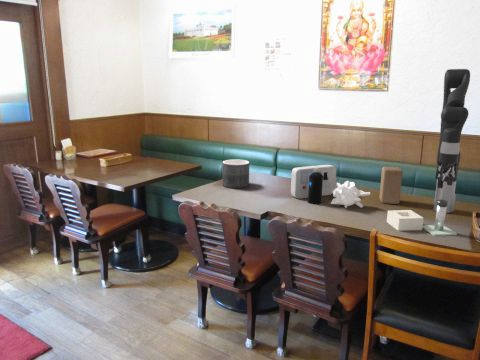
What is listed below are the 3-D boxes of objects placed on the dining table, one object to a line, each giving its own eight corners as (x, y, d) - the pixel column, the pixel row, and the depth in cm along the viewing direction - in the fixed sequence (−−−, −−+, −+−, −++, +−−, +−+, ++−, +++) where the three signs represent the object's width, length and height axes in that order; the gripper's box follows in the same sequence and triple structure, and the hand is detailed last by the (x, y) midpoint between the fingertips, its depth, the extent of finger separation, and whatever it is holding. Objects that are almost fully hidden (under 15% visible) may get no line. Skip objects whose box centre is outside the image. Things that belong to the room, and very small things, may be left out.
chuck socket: (409, 221, 203) (410, 209, 202) (422, 229, 192) (423, 218, 190) (386, 221, 202) (387, 210, 200) (398, 230, 190) (399, 218, 189)
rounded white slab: (296, 200, 237) (298, 170, 233) (290, 196, 244) (291, 167, 239) (337, 195, 248) (339, 166, 243) (329, 192, 255) (331, 164, 250)
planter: (249, 188, 261) (249, 165, 257) (221, 188, 261) (221, 164, 257) (249, 181, 278) (249, 159, 274) (223, 181, 278) (223, 159, 274)
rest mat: (442, 226, 196) (442, 225, 196) (456, 235, 186) (456, 233, 185) (421, 227, 195) (421, 225, 195) (434, 235, 184) (434, 234, 184)
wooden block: (399, 204, 230) (403, 170, 225) (381, 203, 232) (384, 169, 227) (396, 199, 239) (400, 166, 234) (378, 198, 241) (382, 166, 236)
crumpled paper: (340, 190, 212) (339, 168, 221) (326, 207, 225) (326, 187, 234) (375, 199, 214) (372, 177, 224) (359, 216, 228) (357, 195, 237)
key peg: (445, 229, 190) (449, 201, 186) (440, 231, 187) (444, 203, 184) (436, 227, 193) (440, 199, 190) (431, 229, 191) (435, 200, 187)
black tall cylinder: (323, 201, 235) (325, 167, 230) (319, 205, 228) (321, 170, 223) (309, 199, 238) (311, 166, 233) (305, 203, 231) (307, 169, 226)
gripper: (449, 155, 174) (444, 191, 178) (465, 151, 182) (460, 185, 186) (432, 152, 180) (428, 187, 184) (449, 149, 188) (444, 182, 192)
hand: (444, 186), depth 185 cm, fingers open, 8 cm apart
